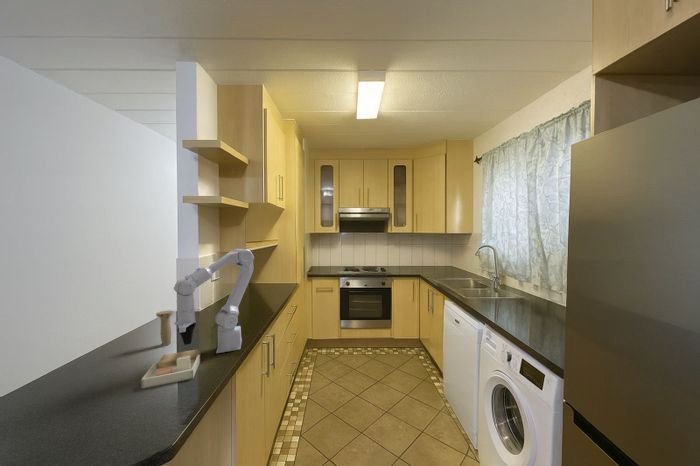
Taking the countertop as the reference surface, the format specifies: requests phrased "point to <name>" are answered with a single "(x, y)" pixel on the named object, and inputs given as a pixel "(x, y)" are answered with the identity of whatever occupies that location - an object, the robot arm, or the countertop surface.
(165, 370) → the terracotta tile
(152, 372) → the tray
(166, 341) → the handle
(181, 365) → the cream tile
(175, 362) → the oak board
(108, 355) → the countertop surface
